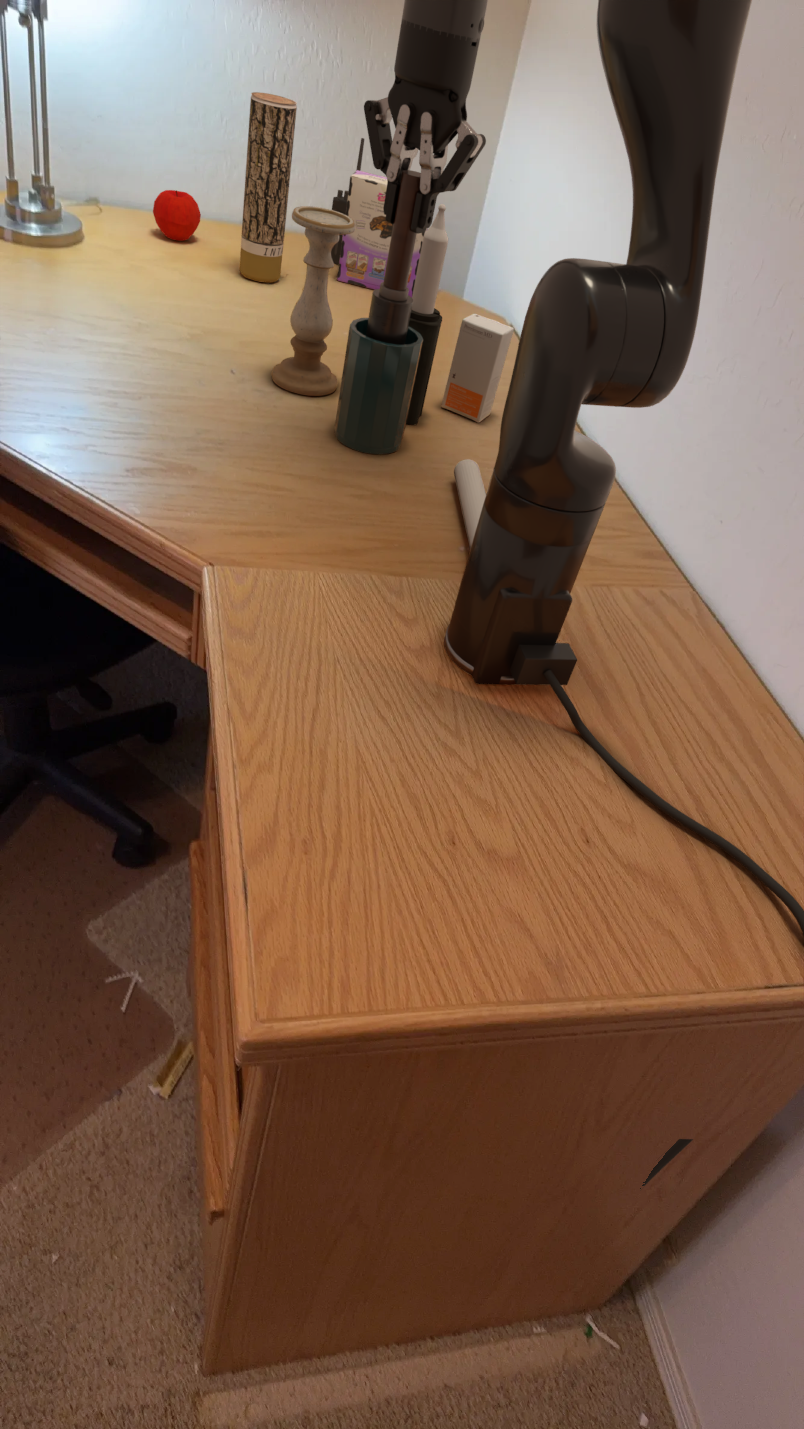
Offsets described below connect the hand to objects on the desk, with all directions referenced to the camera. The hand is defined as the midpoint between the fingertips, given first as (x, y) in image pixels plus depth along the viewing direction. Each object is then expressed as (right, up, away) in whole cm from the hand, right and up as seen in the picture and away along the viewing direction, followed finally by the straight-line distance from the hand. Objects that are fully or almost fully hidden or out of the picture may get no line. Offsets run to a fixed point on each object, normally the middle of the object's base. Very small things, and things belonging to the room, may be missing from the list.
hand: (405, 226), depth 93 cm
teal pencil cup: (-5, -17, +16) cm, 24 cm away
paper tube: (-24, +21, +54) cm, 62 cm away
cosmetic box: (+8, -10, +28) cm, 31 cm away
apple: (-40, +31, +60) cm, 79 cm away
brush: (-3, -10, +9) cm, 14 cm away
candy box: (-5, +24, +62) cm, 67 cm away
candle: (-1, -12, +23) cm, 26 cm away
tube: (+8, -33, +3) cm, 34 cm away
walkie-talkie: (-12, +31, +69) cm, 76 cm away
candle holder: (-14, -7, +25) cm, 29 cm away
